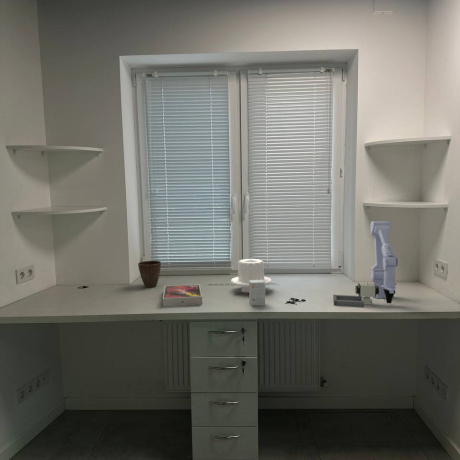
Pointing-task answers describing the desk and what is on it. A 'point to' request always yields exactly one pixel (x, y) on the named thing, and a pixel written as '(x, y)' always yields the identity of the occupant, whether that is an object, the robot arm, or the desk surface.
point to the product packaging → (182, 295)
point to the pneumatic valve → (366, 292)
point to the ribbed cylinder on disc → (250, 273)
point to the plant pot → (150, 272)
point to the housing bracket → (353, 301)
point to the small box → (256, 292)
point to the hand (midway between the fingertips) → (388, 302)
